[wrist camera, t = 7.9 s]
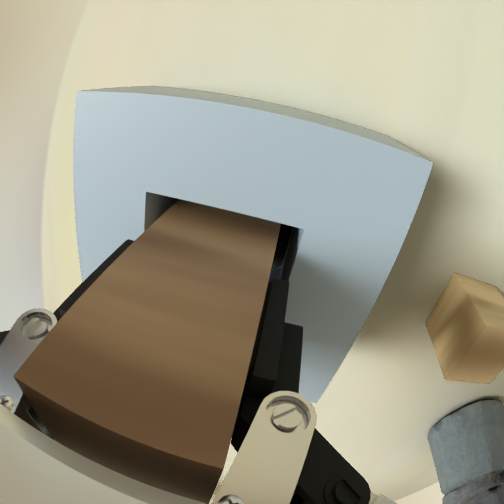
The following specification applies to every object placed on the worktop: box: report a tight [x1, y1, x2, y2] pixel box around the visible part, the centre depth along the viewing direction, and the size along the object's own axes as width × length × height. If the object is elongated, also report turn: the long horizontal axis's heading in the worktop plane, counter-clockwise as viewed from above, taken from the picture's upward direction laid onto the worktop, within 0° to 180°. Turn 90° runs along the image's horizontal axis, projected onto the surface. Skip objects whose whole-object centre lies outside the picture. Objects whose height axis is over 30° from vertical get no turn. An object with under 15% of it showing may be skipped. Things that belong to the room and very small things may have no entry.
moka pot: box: [428, 400, 504, 504], centre depth 14 cm, size 10×15×20 cm, turn 14°
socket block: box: [73, 86, 433, 403], centre depth 14 cm, size 12×12×6 cm
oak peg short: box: [425, 273, 504, 384], centre depth 15 cm, size 4×4×5 cm
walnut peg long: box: [14, 199, 281, 504], centre depth 10 cm, size 4×4×12 cm
